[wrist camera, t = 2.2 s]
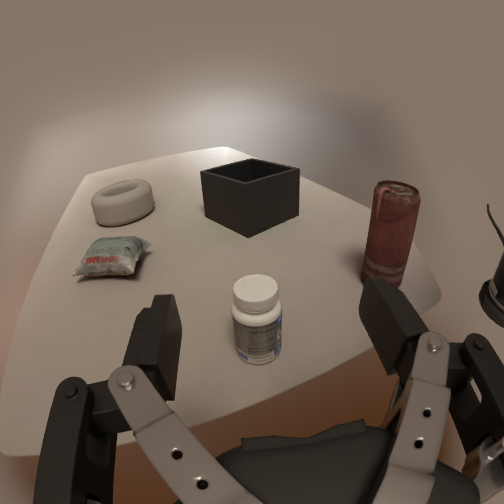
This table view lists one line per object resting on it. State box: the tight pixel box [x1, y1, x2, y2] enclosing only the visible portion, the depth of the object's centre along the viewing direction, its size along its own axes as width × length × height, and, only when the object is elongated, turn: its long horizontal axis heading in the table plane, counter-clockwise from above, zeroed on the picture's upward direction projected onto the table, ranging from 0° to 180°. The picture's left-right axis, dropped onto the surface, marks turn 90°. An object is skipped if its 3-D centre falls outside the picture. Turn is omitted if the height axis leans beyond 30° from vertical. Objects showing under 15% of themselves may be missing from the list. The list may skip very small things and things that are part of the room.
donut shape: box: [91, 180, 154, 226], centre depth 62 cm, size 15×15×7 cm
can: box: [361, 181, 421, 288], centre depth 35 cm, size 6×6×14 cm
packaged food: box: [72, 236, 150, 277], centre depth 42 cm, size 9×12×5 cm
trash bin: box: [200, 158, 300, 238], centre depth 56 cm, size 14×14×10 cm
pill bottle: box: [231, 274, 282, 364], centre depth 27 cm, size 5×5×8 cm
